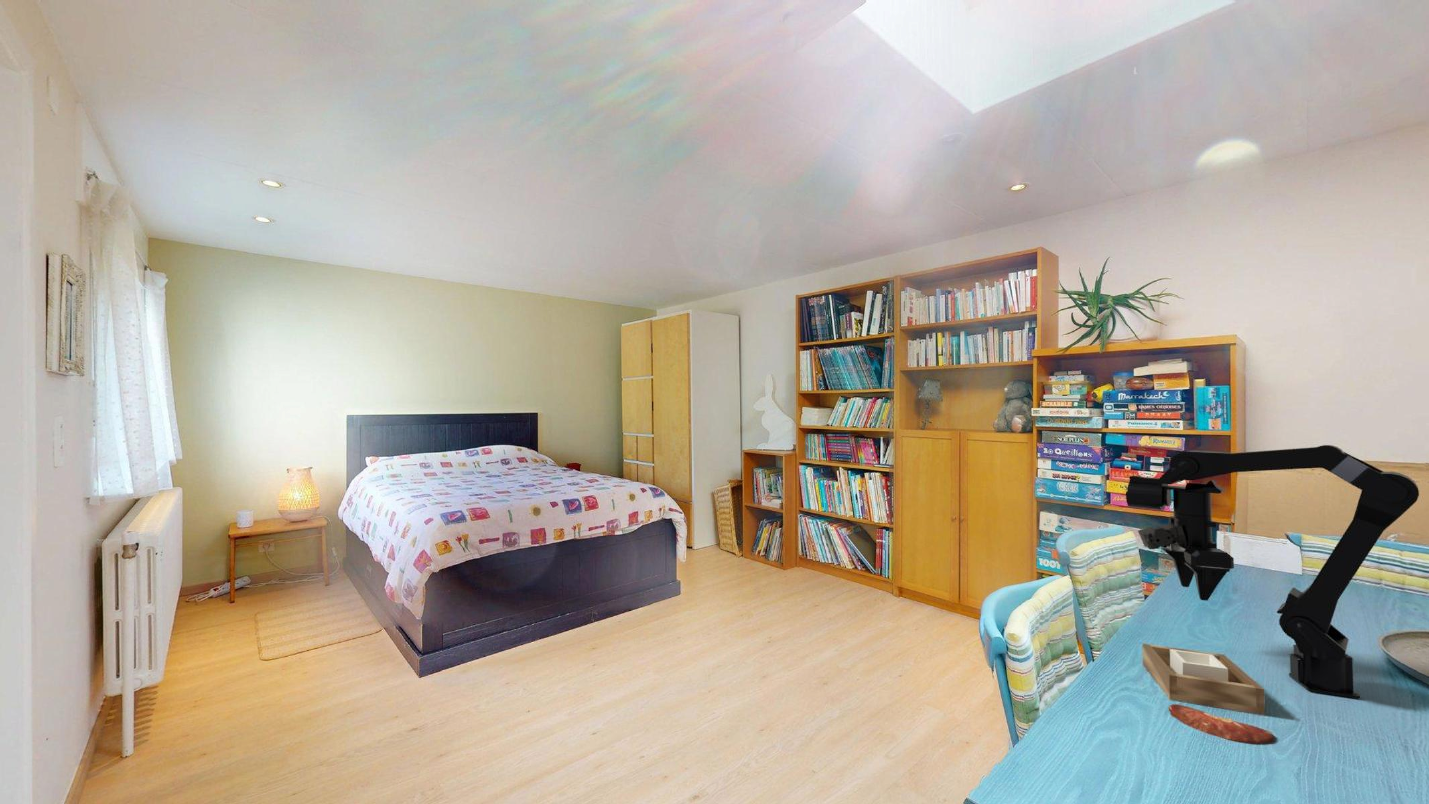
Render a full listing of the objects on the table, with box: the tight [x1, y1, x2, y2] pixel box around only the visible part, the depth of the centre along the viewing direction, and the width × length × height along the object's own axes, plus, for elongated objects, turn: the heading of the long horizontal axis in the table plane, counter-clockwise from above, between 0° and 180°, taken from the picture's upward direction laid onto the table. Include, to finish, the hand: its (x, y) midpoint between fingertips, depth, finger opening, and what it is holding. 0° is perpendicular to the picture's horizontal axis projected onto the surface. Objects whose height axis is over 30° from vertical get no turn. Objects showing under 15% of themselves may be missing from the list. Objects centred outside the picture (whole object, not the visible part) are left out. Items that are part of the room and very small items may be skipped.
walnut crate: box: [1142, 643, 1266, 716], centre depth 95 cm, size 12×14×4 cm
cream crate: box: [1170, 649, 1228, 682], centre depth 95 cm, size 6×6×4 cm
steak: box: [1168, 703, 1276, 746], centre depth 83 cm, size 8×2×12 cm
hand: (1194, 593), depth 109 cm, fingers open, 9 cm apart
